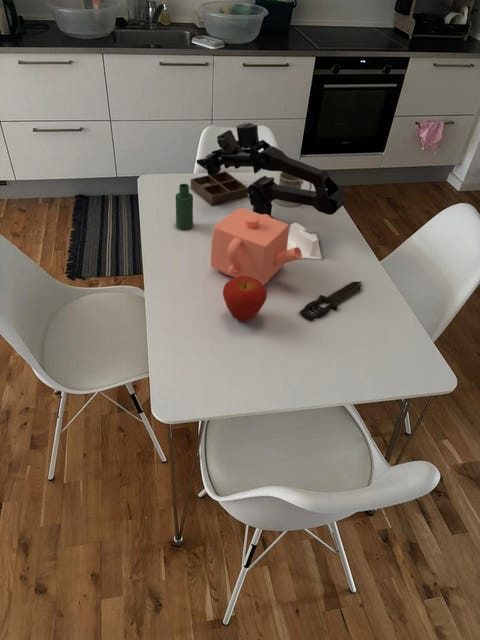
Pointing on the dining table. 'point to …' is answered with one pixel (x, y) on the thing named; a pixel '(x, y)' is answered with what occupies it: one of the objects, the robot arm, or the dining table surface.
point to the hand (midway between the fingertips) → (204, 157)
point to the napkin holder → (303, 242)
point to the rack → (219, 188)
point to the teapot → (251, 245)
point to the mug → (289, 182)
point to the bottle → (184, 208)
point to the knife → (326, 299)
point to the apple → (244, 297)
